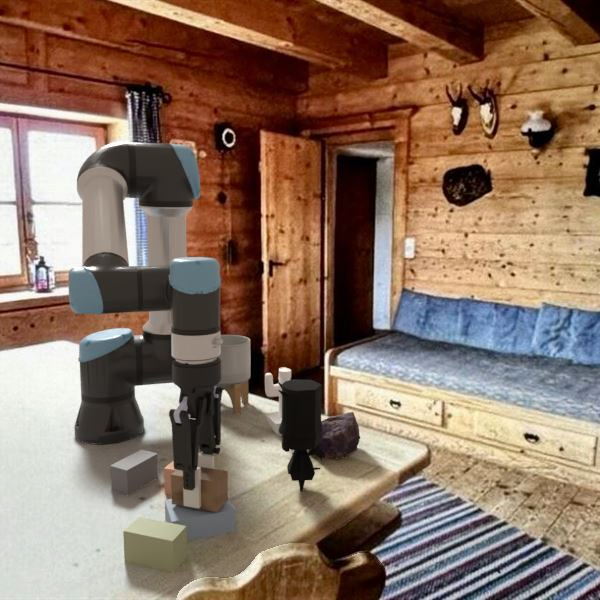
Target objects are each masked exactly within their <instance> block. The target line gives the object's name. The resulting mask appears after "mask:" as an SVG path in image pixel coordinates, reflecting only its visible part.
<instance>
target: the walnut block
mask: <svg viewBox="0 0 600 600" xmlns="http://www.w3.org/2000/svg"><path fill="white" fill-rule="evenodd" d="M197 467H198V466H197ZM228 473H229V471H228V470H224V469H217V468H215V469H211V468H204V467H201V507H200V508H199V509H202V510H208V511H213V512H218V511H219V510H220V509H221V507H222V506H223V505H224V504H225V503H226V502H227V501H228V497H229V474H228ZM171 494H172V495H171V499H172V504H174V505H180V506H184V500H183V471H182V470H176V471H175V472H173V473H172V474H171ZM186 507H187V506H186ZM191 508H193V507H191ZM197 509H198V508H197Z"/></svg>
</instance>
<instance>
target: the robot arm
mask: <svg viewBox="0 0 600 600" xmlns="http://www.w3.org/2000/svg"><path fill="white" fill-rule="evenodd" d="M76 191H77V195H78V197H79V198H80V200H81V201H82V207H81V208H82V212H81V213H82V217H81V219H82V220H81V221H82V228H81V229H82V232H81V233H82V235H81V236H82V238H81V240H82V245H81V247H82V250H81V251H82V252H81V255H82V257H81V258H82V259H81V261H82V264H81V266H80V267H79V266H78V267H73V268H71V269H70V270H69V271H68V276H67V277H68V285H67V286H68V300H69V301H68V302H69V307H70V310H71V311H72V312H73V313H74V314H76V315H77V314H79V315H99V316H100V315H104V314H105V315H106V314H107V315H109V314H122V313H124V314H125V313H134V312H135V313H138V312H139V313H140V312H141V313H142V312H148V320H147V321H146V322H145V323H144V324H143V326H142V334H134V332H133V330H132V329H131V328H127V327H124V328H120V327H118V328H117V327H116V328H110V329H105V330H101V331H97V332H94V333H90V334H88V335H86V336H85V337H83V338H82V339H81V341H80V342H79V345H78V346H79V347H78V351H79V352H78V363H79V377H80V399H81V402H80V405H79V409H78V412H77V416H76V420H75V423H74V437H75V439H76V438H77V439H76V440H78V441H79V440H80V441H79V442H82V441H83V442H82V443H85V442H86V444H91V443H92V445H107V443H108V444H115V443H120V442H121V443H122V442H124V441H127V440H130V439H134V438H135V437H138V436H139V435H140V434H142V433H143V432H144V429H145V420H144V416H143V414H142V412H141V409H140V405H139V403H138V400H137V398H136V389H135V388H136V386H138V387H139V386H147V385H160V384H161V385H163V384H174V385H175V386H177V387H178V388H179V389H180V391H179V392H180V393H179V397H178V403H179V405H178V406H177V408H176V409H175V408H171V409H169V412H168V416H169V420H170V424H171V434H172V435H171V438H172V440H171V441H172V454H173V455H172V457H173V458H172V459H173V460H172V461H174V469H176V470H182V471H183V500H184V506H187V507H193V508H198V509H199V508H200V507H201V467H204V468H211V469H214V468H215V455H219V454H220V453H221V448H220V447H217V446H220V445H221V441H222V440H221V439H222V435H221V433H222V431H221V430H222V421H221V420H222V395H223V391H224V390H223V389H222V387H217V386H214V385H216V384H218V383H219V382H220V381H221V359H220V358H219V357H218V356H219V355H220V354H221V344H222V343H223V340H222V339H221V335H222V333H221V284H222V278H221V271H220V269H221V268H220V262H219V261H218V260H217V259H216V258H214V257H207V256H206V257H205V256H187V252H188V251H187V215H188V213H189V212H191V210H193V207H194V200H195V201H196V200H198V199H200V198H201V177H200V171H199V165H198V162H197V157H196V155H195V152H194V151H193V149H192V148H191V147H190V146H188V145H185V144H177V143H161V142H158V143H157V142H155V143H154V142H130V141H117V142H110V143H108V144H105V145H103V146H102V147H100V148H98V149H97V150H95V151H94V152H92V153H90V155H89V156H88V157H87V158H86V159H85V161H84V162H83V163H82V165H81V166H80V169H79V171H78V173H77V178H76ZM128 198H129V199H138V208H140V210H141V211H142V212H144V214H145V216H146V240H147V241H146V242H147V243H146V244H147V245H146V248H147V249H146V250H147V265H133V266H130V262H129V252H128V251H129V250H128V240H127V229H126V217H125V207H124V206H125V205H124V201H125V199H128ZM93 443H95V444H93ZM197 466H198V467H197Z"/></svg>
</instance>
